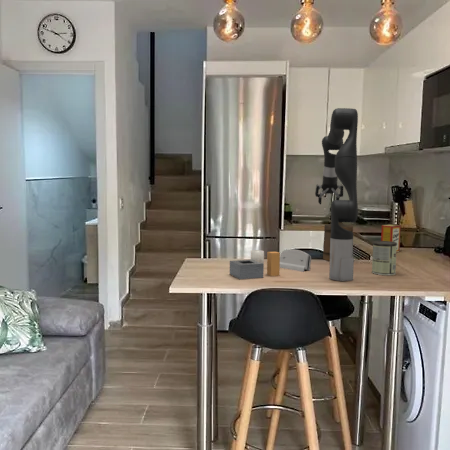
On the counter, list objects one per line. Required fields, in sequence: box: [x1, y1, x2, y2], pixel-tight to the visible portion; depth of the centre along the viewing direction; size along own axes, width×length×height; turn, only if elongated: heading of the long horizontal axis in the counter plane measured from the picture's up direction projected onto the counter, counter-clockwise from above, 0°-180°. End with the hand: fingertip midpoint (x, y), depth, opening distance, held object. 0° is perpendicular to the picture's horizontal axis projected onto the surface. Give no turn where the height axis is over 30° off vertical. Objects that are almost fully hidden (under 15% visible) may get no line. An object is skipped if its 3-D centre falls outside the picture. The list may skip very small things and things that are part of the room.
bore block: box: [229, 259, 265, 280], centre depth 205 cm, size 11×11×6 cm
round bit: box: [250, 249, 265, 265], centre depth 218 cm, size 6×6×9 cm
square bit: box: [266, 251, 281, 277], centre depth 207 cm, size 4×4×10 cm
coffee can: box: [371, 240, 397, 276], centre depth 213 cm, size 10×10×14 cm
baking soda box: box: [380, 224, 401, 252], centre depth 278 cm, size 10×6×16 cm
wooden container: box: [322, 222, 354, 262], centre depth 249 cm, size 15×15×22 cm
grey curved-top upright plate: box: [280, 248, 312, 273], centre depth 224 cm, size 17×5×10 cm, turn 45°
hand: (328, 203), depth 252 cm, fingers open, 8 cm apart
